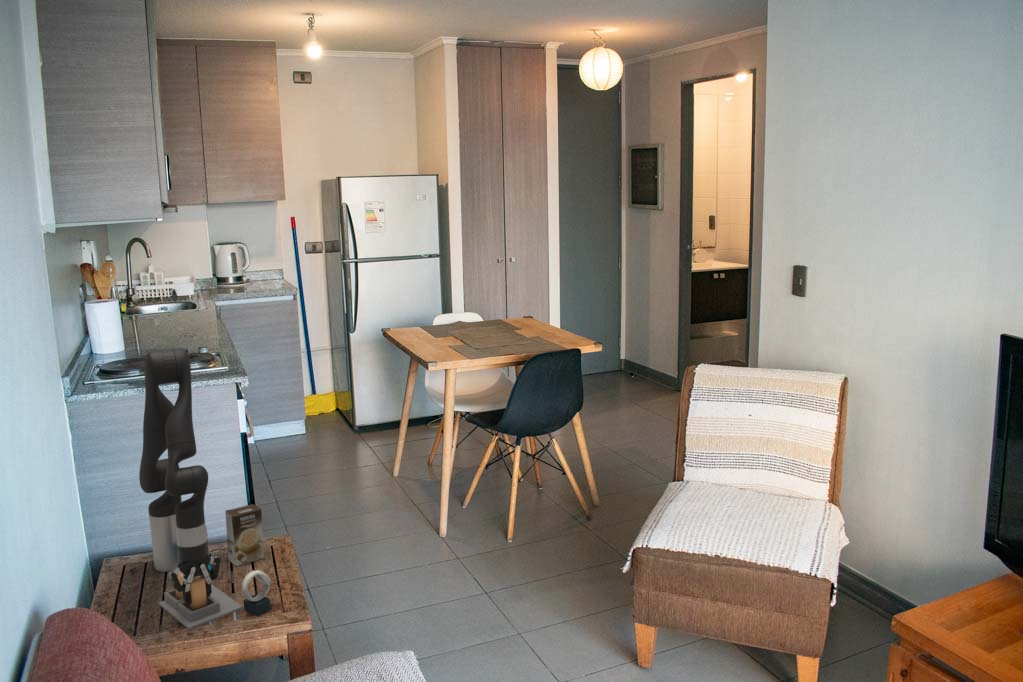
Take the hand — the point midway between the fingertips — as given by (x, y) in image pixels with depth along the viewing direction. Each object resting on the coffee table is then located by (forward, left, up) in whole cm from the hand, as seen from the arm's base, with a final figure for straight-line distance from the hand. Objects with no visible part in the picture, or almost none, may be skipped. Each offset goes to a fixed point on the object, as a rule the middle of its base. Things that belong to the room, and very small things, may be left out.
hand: (197, 599), depth 224 cm
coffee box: (-21, +25, -4) cm, 33 cm away
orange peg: (0, 0, -2) cm, 2 cm away
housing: (-3, +2, -4) cm, 6 cm away
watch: (+10, +12, -4) cm, 16 cm away
